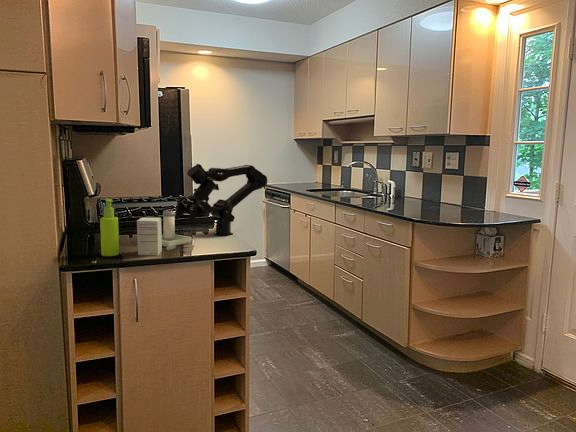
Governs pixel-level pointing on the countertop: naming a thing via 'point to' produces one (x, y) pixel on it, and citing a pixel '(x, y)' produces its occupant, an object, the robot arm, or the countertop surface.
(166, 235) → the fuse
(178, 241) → the tray
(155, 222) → the supplement box
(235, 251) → the countertop surface
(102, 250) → the soap dispenser
